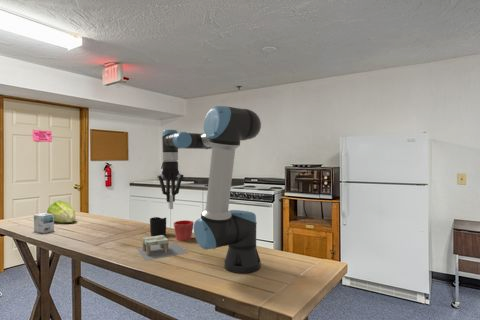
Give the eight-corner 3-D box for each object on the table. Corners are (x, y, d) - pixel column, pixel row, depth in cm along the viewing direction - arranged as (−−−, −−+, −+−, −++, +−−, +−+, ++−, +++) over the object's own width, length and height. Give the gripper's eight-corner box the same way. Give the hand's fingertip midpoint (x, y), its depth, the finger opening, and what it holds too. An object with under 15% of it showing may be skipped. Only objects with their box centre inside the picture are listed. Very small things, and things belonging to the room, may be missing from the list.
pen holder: (163, 232, 181) (163, 216, 181) (168, 235, 173) (168, 218, 173) (147, 234, 176) (147, 218, 176) (152, 238, 168) (152, 220, 168)
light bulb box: (54, 231, 186) (54, 214, 186) (43, 233, 180) (43, 215, 180) (44, 229, 191) (44, 212, 191) (33, 231, 185) (33, 214, 185)
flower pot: (189, 242, 158) (189, 224, 158) (170, 241, 161) (170, 224, 161) (196, 237, 169) (196, 220, 169) (178, 236, 171) (178, 220, 171)
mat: (188, 253, 140) (188, 253, 140) (145, 261, 130) (145, 260, 130) (176, 243, 157) (176, 242, 157) (136, 249, 148) (136, 248, 148)
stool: (168, 239, 141) (146, 242, 136) (168, 252, 141) (146, 255, 136) (162, 235, 150) (142, 237, 145) (162, 246, 150) (142, 249, 145)
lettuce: (82, 228, 215) (58, 235, 203) (67, 213, 228) (44, 218, 216) (82, 210, 210) (58, 216, 198) (67, 196, 224) (44, 201, 212)
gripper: (180, 161, 153) (180, 206, 153) (155, 161, 147) (155, 208, 147) (185, 160, 147) (185, 208, 147) (159, 161, 140) (159, 210, 140)
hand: (170, 208), depth 147 cm, fingers closed
